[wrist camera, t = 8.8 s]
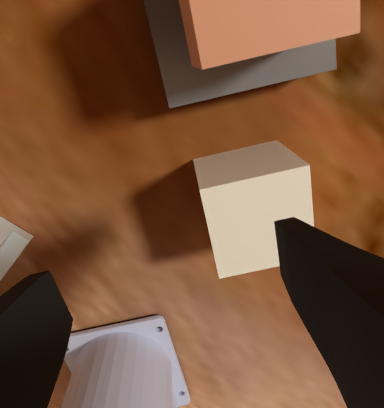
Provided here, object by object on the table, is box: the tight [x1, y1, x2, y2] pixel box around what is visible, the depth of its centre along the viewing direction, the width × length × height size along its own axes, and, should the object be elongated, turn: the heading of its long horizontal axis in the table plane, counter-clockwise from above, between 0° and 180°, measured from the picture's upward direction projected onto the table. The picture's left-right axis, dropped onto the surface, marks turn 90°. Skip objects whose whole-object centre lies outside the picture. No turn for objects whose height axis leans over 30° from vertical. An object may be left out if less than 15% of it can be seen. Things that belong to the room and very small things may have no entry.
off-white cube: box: [193, 140, 314, 279], centre depth 18 cm, size 5×5×5 cm
